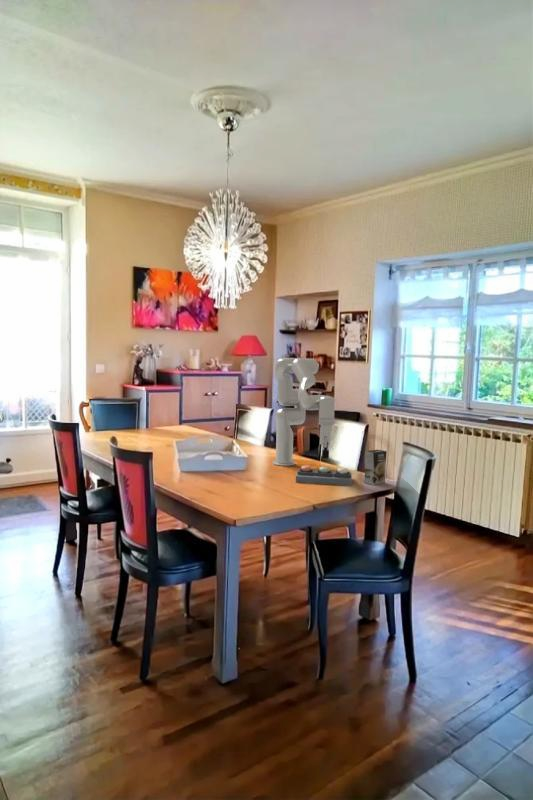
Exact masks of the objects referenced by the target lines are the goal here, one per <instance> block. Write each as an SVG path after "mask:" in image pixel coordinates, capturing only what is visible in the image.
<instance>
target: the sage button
mask: <svg viewBox="0 0 533 800" xmlns="http://www.w3.org/2000/svg"><path fill="white" fill-rule="evenodd" d="M318 470H319V472H321V473H329V470H330V467H329V466H319V467H318Z"/></svg>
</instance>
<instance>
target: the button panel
mask: <svg viewBox="0 0 533 800" xmlns="http://www.w3.org/2000/svg"><path fill="white" fill-rule="evenodd" d="M352 479H353V478H352V472H351V471H348V473H347V474H339V473H337V470H334V471H333V470H330V469H329V473H321V472H319V469H313V468H311V471H310V472H304V471H301V468H298V470H297V473H296V475H295V483H300V482H301V483H303V484H305V483H306V484H316V483H320V484H319V485H331V484H336V486H346V485H351V486H352V483H353V482H352Z"/></svg>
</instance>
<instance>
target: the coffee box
mask: <svg viewBox="0 0 533 800" xmlns="http://www.w3.org/2000/svg"><path fill="white" fill-rule="evenodd" d="M364 461H365V462H364V474H363V475H364V476H363V477H364V478H363V483H365V484H368V485H371V486H376V485H380V484H382V485H383V484H385V483H386V472H387V471H386V468H387V451H386V450H384V449H383V450H382V449H372V450H370V449H369V450H365V459H364Z"/></svg>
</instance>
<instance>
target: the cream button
mask: <svg viewBox="0 0 533 800" xmlns="http://www.w3.org/2000/svg"><path fill="white" fill-rule="evenodd" d="M348 469H349V468H347V467H338V468H337V470H336V471H337V473H339V474H347V473H348Z"/></svg>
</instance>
